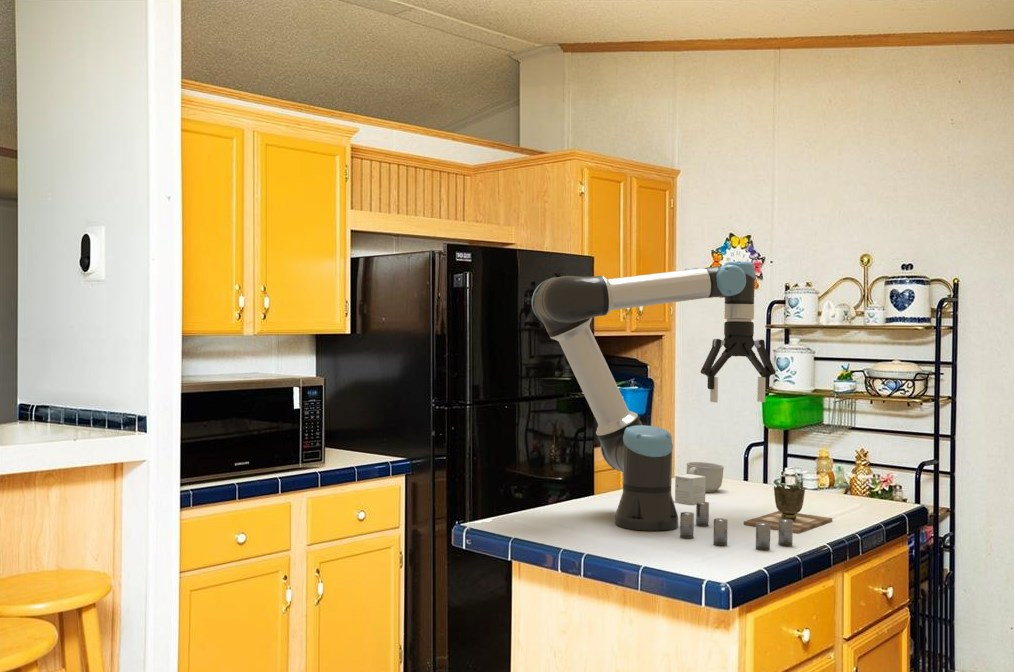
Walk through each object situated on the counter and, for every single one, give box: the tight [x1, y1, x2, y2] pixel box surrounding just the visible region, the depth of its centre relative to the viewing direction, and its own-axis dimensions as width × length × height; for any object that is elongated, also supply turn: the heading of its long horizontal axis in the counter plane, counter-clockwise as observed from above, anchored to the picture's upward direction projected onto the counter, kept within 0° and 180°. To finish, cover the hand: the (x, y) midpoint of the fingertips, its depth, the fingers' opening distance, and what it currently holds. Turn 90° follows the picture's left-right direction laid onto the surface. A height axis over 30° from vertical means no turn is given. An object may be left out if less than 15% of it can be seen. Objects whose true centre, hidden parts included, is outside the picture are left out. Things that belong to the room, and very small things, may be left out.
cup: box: [773, 484, 806, 520], centre depth 240 cm, size 8×7×8 cm
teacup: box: [685, 461, 725, 493], centre depth 285 cm, size 14×11×8 cm
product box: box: [674, 473, 706, 506], centre depth 267 cm, size 6×6×7 cm
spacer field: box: [679, 501, 794, 551], centre depth 223 cm, size 22×29×6 cm
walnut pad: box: [743, 510, 833, 534], centre depth 240 cm, size 20×14×1 cm
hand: (737, 402), depth 253 cm, fingers open, 13 cm apart
